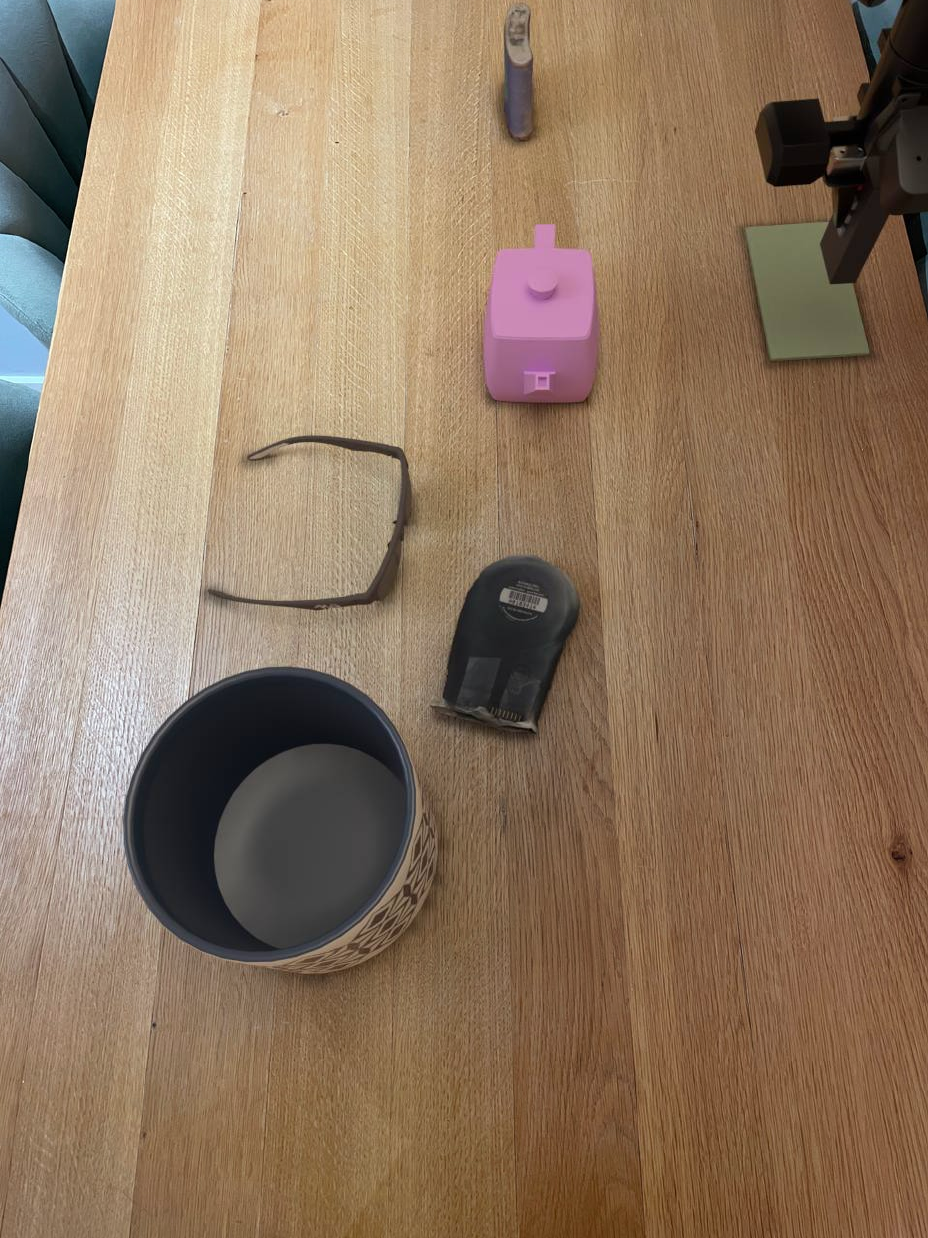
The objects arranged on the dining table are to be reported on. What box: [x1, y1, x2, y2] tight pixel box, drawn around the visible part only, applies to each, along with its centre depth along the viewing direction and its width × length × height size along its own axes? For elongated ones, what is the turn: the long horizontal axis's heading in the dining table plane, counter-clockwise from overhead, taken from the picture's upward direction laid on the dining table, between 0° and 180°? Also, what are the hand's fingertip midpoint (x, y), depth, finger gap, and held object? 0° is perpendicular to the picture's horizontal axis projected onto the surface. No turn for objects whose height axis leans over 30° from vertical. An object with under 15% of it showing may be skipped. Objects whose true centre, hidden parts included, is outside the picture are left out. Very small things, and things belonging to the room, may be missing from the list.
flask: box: [503, 2, 534, 142], centre depth 97 cm, size 9×3×11 cm, turn 1°
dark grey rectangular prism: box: [820, 156, 891, 285], centre depth 76 cm, size 2×4×10 cm, turn 3°
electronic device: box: [428, 554, 581, 737], centre depth 76 cm, size 9×6×15 cm
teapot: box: [483, 223, 600, 404], centre depth 84 cm, size 18×10×10 cm, turn 177°
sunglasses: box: [207, 434, 413, 611], centre depth 81 cm, size 16×17×5 cm
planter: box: [122, 665, 439, 975], centre depth 65 cm, size 18×18×16 cm
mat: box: [744, 221, 870, 362], centre depth 90 cm, size 16×9×1 cm, turn 2°
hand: (854, 222), depth 76 cm, fingers closed on dark grey rectangular prism, 2 cm apart
